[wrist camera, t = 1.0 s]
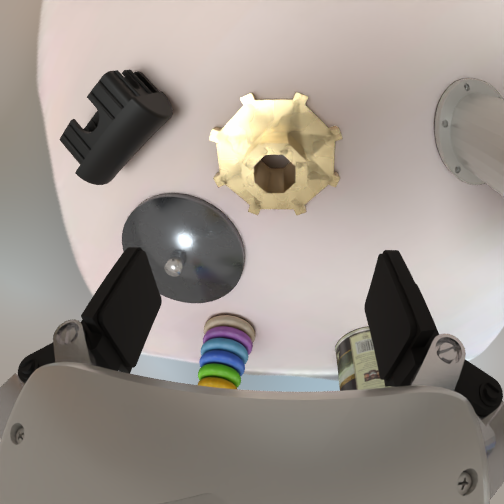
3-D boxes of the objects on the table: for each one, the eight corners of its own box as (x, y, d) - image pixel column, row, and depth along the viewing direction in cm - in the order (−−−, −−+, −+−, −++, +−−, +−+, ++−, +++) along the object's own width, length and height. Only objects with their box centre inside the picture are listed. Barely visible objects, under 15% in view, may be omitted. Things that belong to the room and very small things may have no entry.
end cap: (125, 170, 28) (93, 195, 23) (89, 130, 25) (52, 147, 20) (184, 111, 24) (156, 122, 19) (142, 66, 21) (105, 67, 16)
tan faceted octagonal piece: (340, 94, 21) (358, 98, 16) (334, 209, 29) (345, 243, 23) (208, 96, 23) (186, 101, 18) (220, 209, 30) (206, 241, 25)
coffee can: (352, 366, 46) (359, 434, 35) (323, 344, 42) (328, 422, 31) (400, 343, 41) (416, 413, 30) (378, 316, 38) (397, 399, 26)
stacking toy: (211, 305, 39) (180, 426, 24) (263, 321, 40) (250, 442, 25) (200, 334, 44) (173, 438, 29) (246, 348, 45) (230, 452, 30)
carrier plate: (239, 190, 29) (233, 205, 26) (248, 299, 38) (245, 319, 35) (112, 198, 30) (96, 212, 27) (145, 293, 40) (136, 311, 37)
